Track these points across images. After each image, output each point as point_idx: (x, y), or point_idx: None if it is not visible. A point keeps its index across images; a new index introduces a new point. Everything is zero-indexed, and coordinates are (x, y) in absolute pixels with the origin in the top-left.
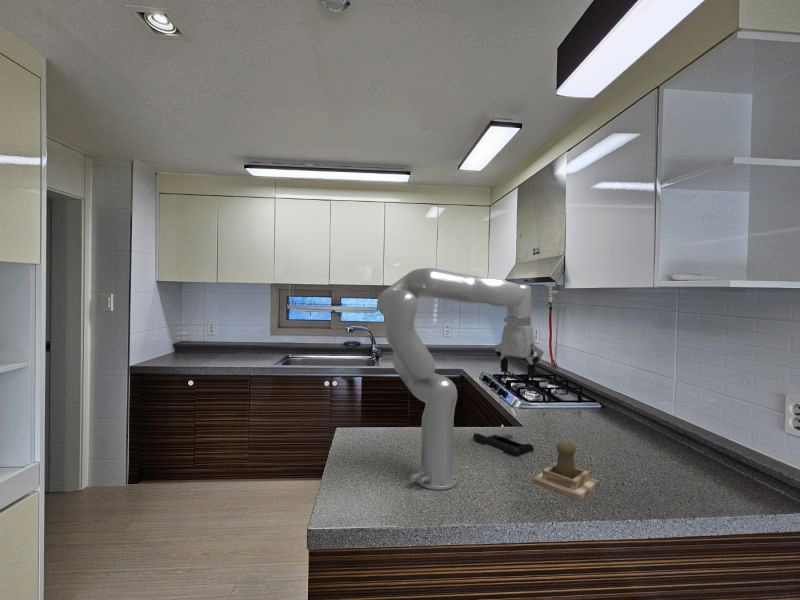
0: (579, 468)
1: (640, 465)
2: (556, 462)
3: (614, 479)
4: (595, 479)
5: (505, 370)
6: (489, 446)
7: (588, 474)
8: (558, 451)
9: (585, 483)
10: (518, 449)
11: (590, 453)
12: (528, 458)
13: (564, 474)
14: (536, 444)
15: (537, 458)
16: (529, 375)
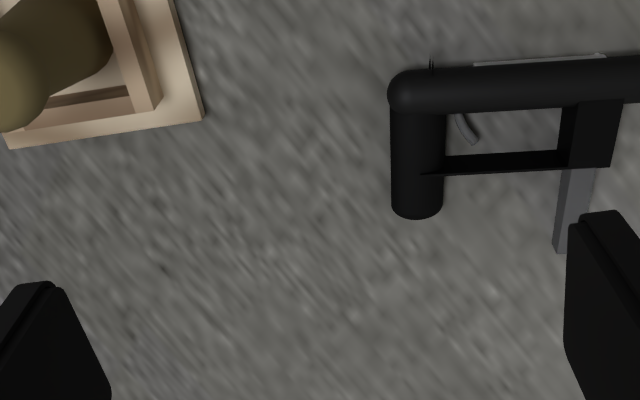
0: (50, 126)
1: None
2: (145, 94)
3: (31, 227)
4: (19, 143)
5: (572, 301)
6: (570, 58)
7: None
8: (8, 31)
9: None
10: (396, 103)
11: (242, 355)
12: (348, 113)
13: (18, 2)
14: (431, 271)
15: (324, 148)
16: (13, 298)
